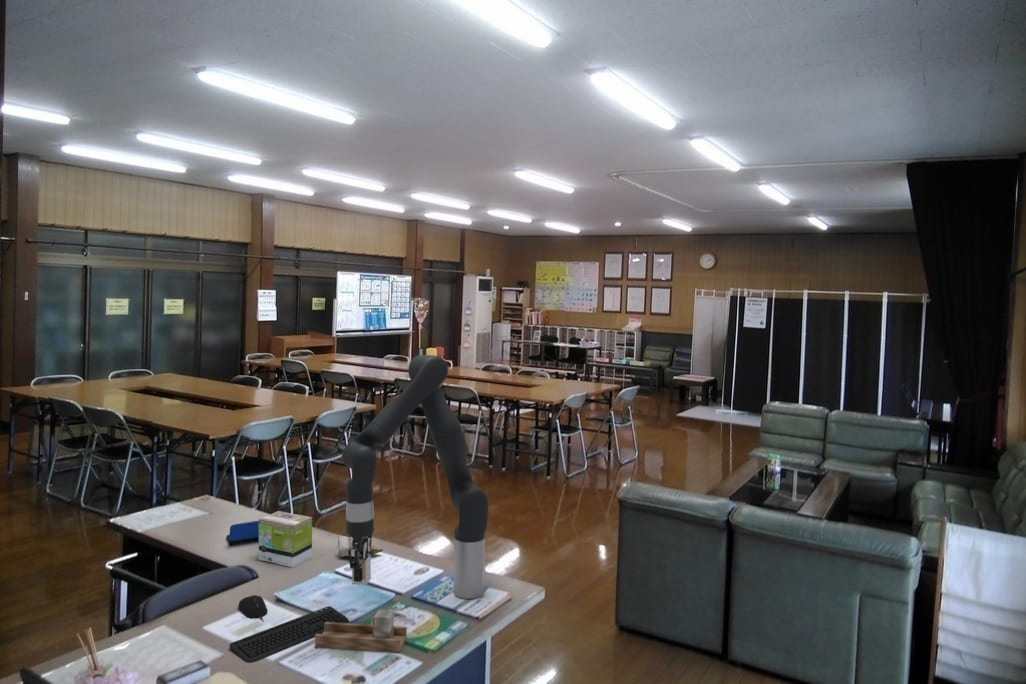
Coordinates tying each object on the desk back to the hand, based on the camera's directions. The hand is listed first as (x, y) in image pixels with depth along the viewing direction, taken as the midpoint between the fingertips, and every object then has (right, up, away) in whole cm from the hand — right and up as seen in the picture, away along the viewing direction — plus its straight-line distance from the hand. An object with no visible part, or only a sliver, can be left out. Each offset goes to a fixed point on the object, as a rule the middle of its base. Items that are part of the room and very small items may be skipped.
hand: (361, 576), depth 186 cm
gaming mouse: (-32, -12, +6) cm, 34 cm away
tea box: (-36, -10, +44) cm, 58 cm away
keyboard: (-17, -14, -7) cm, 23 cm away
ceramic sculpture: (-12, -10, +46) cm, 49 cm away
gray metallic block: (0, -1, 0) cm, 1 cm away
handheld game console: (-54, -9, +62) cm, 83 cm away
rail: (+2, -13, -10) cm, 17 cm away
